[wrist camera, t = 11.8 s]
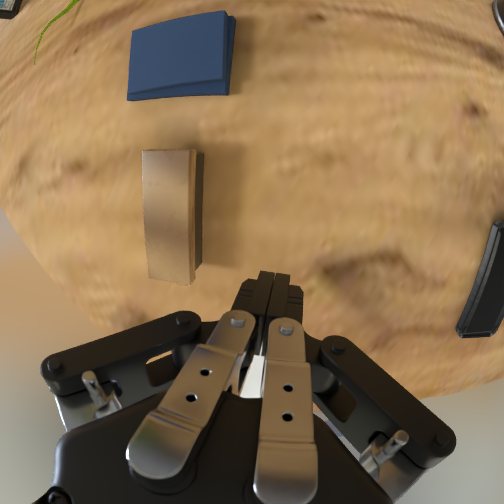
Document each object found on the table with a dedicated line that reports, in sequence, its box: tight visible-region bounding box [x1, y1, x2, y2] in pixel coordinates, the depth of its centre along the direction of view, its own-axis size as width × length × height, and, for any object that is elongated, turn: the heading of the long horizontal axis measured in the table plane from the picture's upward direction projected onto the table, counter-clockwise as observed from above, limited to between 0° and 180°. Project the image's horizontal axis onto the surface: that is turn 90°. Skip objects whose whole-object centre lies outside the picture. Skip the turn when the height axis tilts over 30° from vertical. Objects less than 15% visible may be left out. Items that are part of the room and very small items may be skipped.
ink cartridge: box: [0, 0, 22, 19], centre depth 12 cm, size 5×2×8 cm, turn 179°
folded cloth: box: [127, 11, 236, 101], centre depth 19 cm, size 8×10×2 cm
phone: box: [456, 220, 504, 338], centre depth 22 cm, size 8×1×15 cm
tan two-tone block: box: [142, 149, 204, 286], centre depth 24 cm, size 12×4×4 cm, turn 176°
